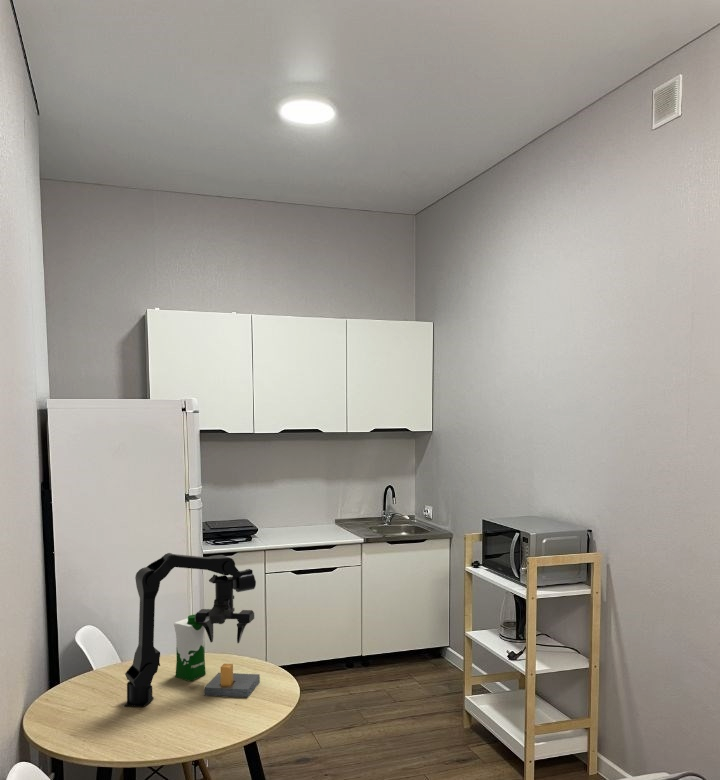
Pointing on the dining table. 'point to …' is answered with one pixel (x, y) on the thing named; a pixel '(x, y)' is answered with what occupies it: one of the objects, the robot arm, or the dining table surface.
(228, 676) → the tan rectangular box
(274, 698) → the dining table surface
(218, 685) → the gray slab with hole
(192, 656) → the milk carton
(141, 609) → the robot arm
